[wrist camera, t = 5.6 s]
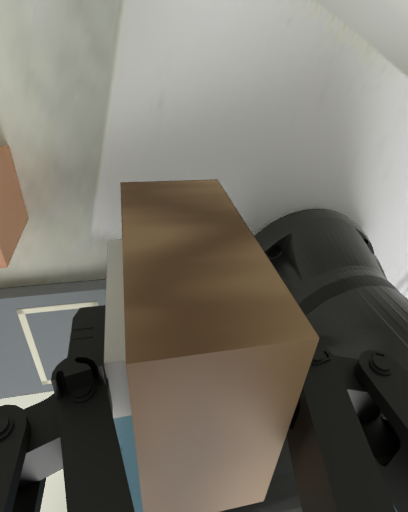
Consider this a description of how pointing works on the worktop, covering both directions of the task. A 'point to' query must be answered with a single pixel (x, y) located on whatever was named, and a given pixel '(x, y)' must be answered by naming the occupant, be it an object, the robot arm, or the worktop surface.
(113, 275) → the robot arm
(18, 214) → the cap cube
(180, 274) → the tall cardboard box
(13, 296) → the baseboard
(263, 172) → the worktop surface
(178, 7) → the worktop surface
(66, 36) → the worktop surface
